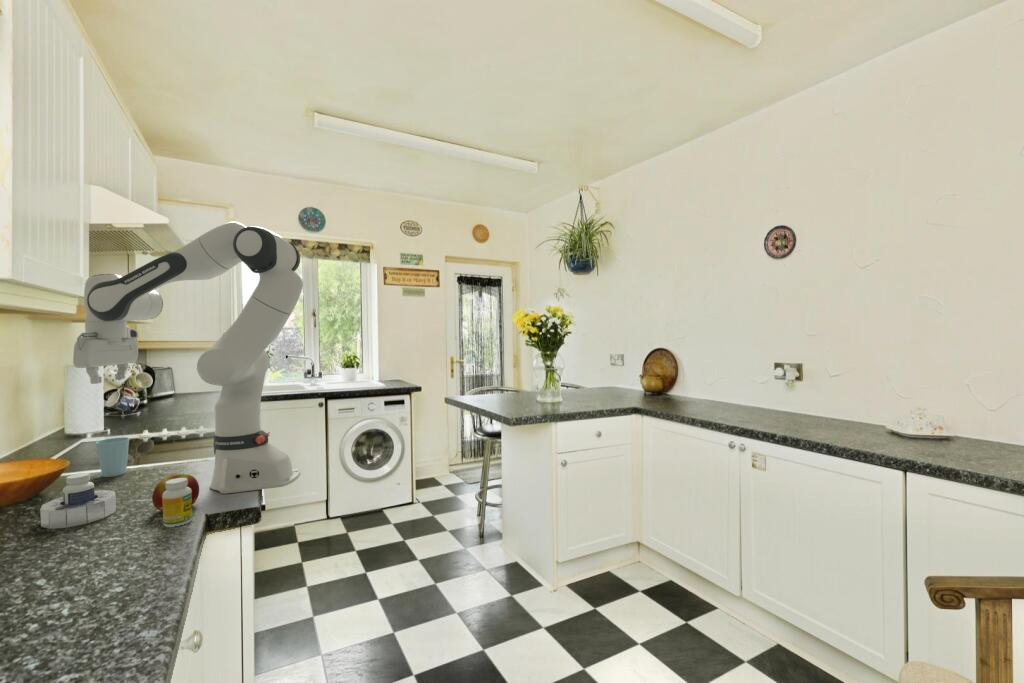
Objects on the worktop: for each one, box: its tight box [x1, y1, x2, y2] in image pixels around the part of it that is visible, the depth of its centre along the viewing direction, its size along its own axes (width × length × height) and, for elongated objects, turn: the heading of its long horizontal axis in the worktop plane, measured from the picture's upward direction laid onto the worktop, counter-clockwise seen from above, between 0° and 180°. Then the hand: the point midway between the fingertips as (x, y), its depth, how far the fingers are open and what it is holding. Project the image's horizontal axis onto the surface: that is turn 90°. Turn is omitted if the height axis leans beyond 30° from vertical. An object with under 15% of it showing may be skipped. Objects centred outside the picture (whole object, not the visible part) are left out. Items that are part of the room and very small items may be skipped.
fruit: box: [151, 473, 200, 512], centre depth 111 cm, size 10×9×8 cm
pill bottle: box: [62, 472, 95, 505], centre depth 107 cm, size 5×5×10 cm
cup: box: [95, 436, 130, 478], centre depth 140 cm, size 8×8×10 cm
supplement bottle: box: [162, 478, 194, 528], centre depth 103 cm, size 5×5×10 cm
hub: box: [39, 489, 117, 530], centre depth 107 cm, size 12×12×4 cm
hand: (108, 381), depth 130 cm, fingers open, 8 cm apart
